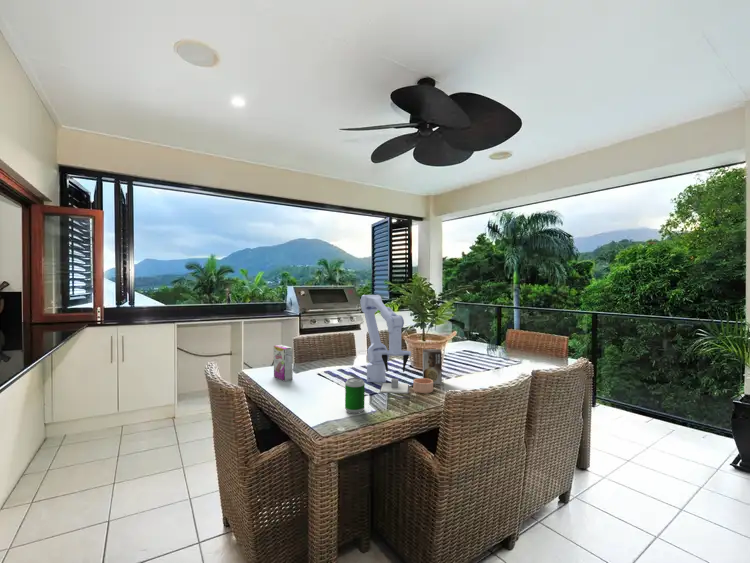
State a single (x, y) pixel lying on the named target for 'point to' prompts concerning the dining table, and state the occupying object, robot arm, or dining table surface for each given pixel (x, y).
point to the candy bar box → (283, 362)
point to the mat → (390, 392)
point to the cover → (394, 387)
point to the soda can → (354, 395)
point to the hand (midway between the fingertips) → (395, 371)
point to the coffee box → (432, 365)
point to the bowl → (423, 385)
